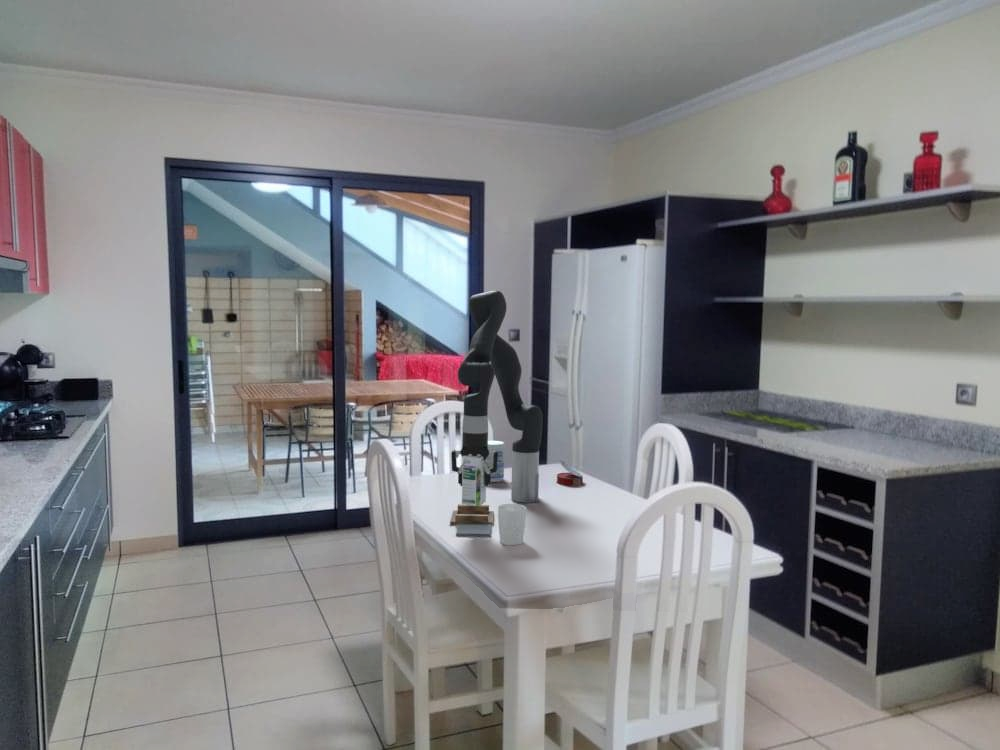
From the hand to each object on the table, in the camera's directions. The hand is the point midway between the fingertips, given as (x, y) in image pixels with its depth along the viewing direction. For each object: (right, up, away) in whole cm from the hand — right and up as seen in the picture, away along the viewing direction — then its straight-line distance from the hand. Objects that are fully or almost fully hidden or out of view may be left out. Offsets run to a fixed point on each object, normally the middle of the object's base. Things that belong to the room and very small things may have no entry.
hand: (474, 485), depth 214 cm
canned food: (+34, -9, +64) cm, 73 cm away
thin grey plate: (0, -14, +1) cm, 14 cm away
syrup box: (0, -5, 0) cm, 5 cm away
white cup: (+11, -15, -8) cm, 20 cm away
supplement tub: (+4, -8, +66) cm, 66 cm away
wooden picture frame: (-1, -13, +13) cm, 18 cm away
